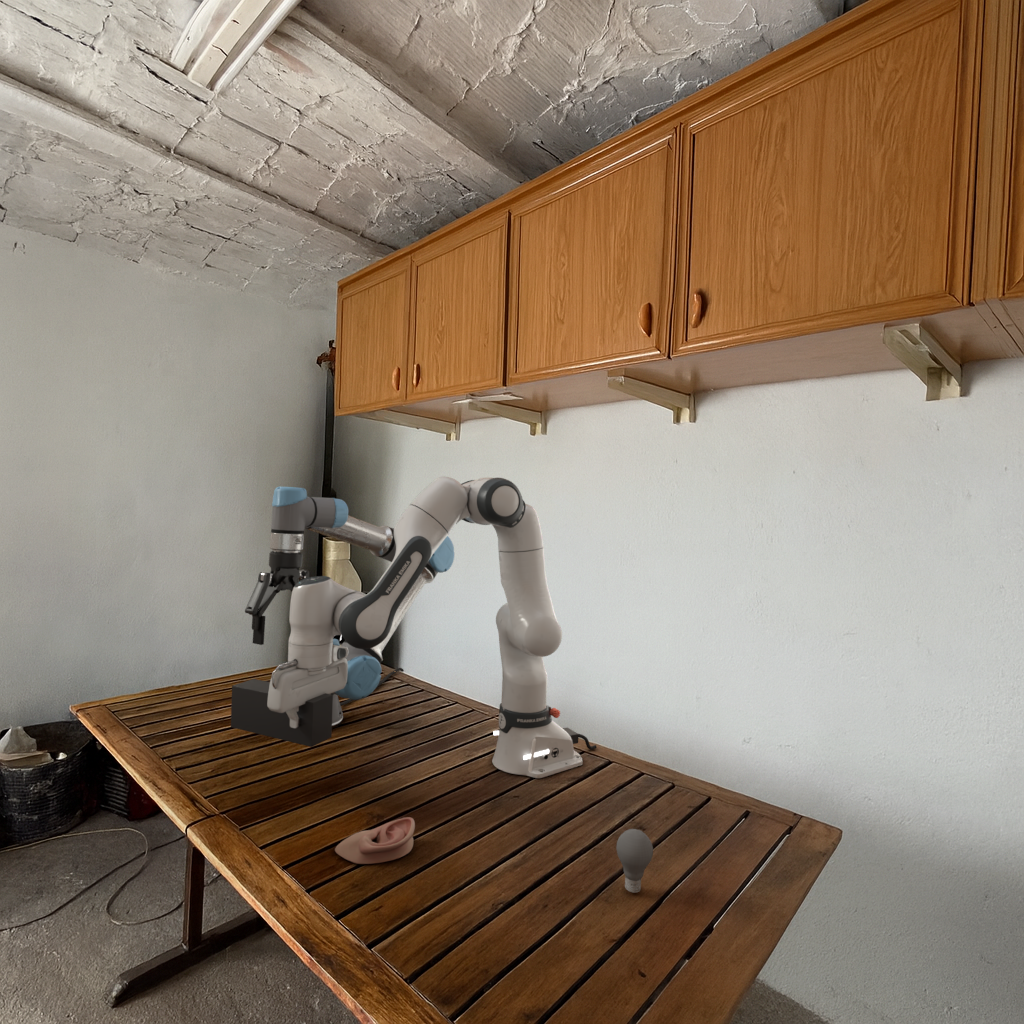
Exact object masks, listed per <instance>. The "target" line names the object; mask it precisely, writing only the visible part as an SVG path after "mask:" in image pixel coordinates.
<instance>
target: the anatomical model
mask: <svg viewBox="0 0 1024 1024" xmlns="http://www.w3.org/2000/svg"><path fill="white" fill-rule="evenodd" d="M415 828H416V823H415V820H414V818H413V817H410V816H409V817H402V818H398V819H395V820H392V821H389V822H386V823H384V824H382V825H380V826H377V827H375V828H372V829H368V830H361V831H358V832H356V833H353V834H352V835H350V836H348V837H346V838H345V839H343V840H342V841H340V843H338V844H337V845H336V846H335V848H334V852H335V853H336V854H337V855H338V856H340V857H341V858H343V859H344V860H347V861H348V862H351V863H353V864H357V865H369V864H370V865H371V864H380V863H385V862H390V861H394V860H398V859H400V858H402V857H404V856H407V855H408V854H409V853H410V852H411V851H412V849H413V847H414V837H413V835H414V833H415Z"/></svg>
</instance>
